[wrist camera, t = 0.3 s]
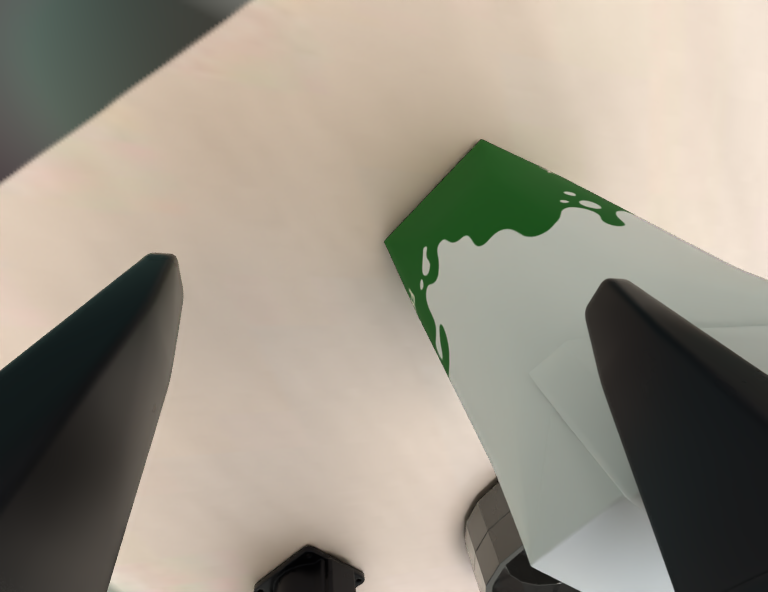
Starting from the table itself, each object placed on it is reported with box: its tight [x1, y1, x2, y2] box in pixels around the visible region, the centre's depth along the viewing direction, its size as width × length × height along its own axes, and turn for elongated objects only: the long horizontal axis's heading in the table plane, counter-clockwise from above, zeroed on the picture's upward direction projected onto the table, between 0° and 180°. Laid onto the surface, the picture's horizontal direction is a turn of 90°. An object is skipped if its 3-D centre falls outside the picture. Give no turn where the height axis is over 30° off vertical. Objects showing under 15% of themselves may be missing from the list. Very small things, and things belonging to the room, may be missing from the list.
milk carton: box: [384, 139, 768, 592], centre depth 18 cm, size 9×9×20 cm
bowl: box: [465, 482, 581, 592], centre depth 37 cm, size 14×14×6 cm
